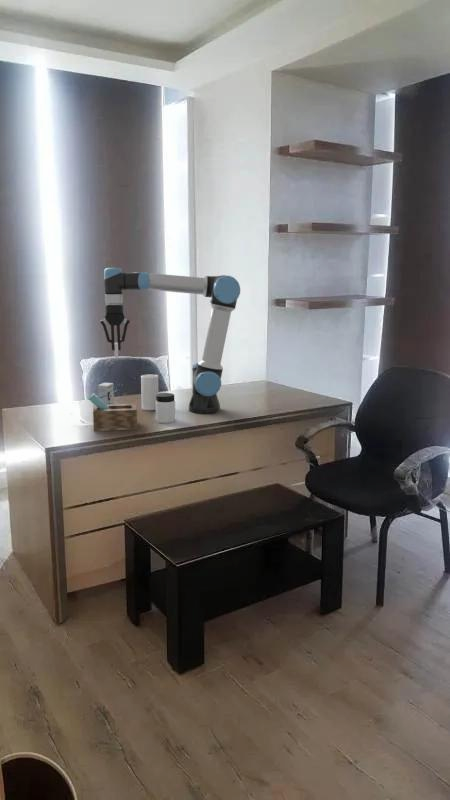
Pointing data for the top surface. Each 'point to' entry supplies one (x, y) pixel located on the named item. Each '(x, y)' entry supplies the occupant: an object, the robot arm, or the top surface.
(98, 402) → the peg
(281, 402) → the top surface
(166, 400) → the jar
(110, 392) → the ink box
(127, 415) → the socket
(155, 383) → the cup
